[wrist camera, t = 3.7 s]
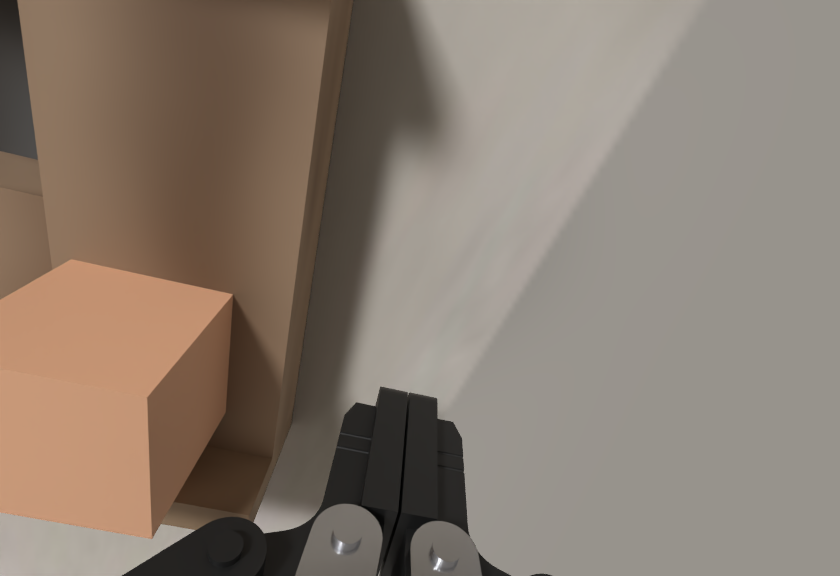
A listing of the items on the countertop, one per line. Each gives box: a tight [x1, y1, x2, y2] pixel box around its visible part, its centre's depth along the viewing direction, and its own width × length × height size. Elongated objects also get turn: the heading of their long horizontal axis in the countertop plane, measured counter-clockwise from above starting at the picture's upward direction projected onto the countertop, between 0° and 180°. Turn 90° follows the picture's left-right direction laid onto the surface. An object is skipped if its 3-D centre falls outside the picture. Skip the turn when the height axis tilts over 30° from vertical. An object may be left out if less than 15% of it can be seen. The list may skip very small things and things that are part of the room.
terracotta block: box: [0, 259, 233, 539], centre depth 11 cm, size 4×4×4 cm
